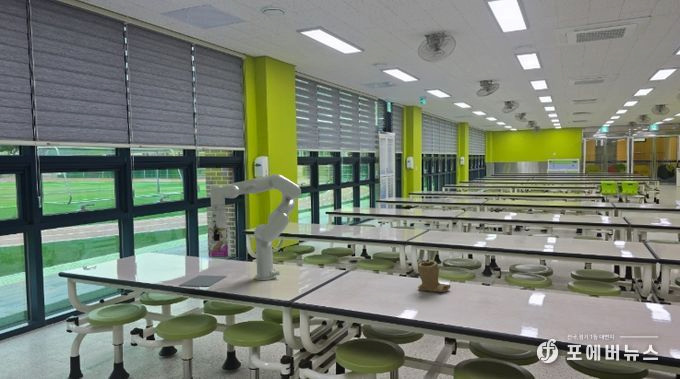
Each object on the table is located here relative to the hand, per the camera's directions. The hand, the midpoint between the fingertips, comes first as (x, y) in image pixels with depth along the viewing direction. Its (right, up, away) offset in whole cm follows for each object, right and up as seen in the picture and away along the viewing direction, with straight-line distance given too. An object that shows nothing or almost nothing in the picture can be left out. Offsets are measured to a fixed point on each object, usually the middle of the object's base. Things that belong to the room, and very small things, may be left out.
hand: (219, 239), depth 252 cm
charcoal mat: (-12, -25, +10) cm, 30 cm away
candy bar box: (0, -10, +1) cm, 10 cm away
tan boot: (+115, -24, -24) cm, 120 cm away
